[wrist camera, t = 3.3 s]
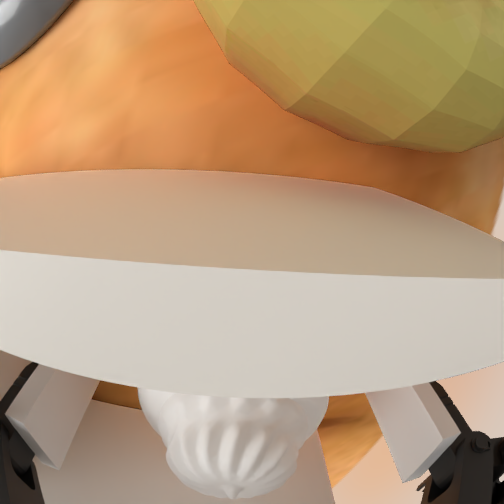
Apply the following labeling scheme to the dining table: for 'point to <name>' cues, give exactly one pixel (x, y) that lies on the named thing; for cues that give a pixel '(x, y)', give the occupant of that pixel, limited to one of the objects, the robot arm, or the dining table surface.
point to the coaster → (25, 24)
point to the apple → (374, 65)
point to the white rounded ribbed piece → (232, 439)
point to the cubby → (231, 306)
